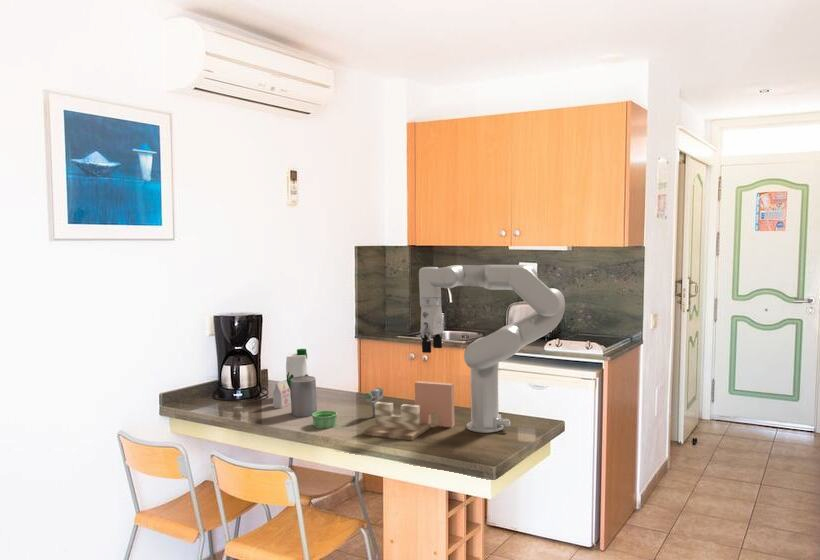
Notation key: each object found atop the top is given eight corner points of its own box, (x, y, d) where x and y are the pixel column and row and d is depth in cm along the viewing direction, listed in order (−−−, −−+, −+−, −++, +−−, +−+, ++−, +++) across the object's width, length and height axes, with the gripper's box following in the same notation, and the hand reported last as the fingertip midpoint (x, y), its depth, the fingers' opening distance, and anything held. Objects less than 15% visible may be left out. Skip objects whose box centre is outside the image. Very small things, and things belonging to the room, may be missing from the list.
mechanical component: (364, 419, 255) (363, 393, 254) (378, 413, 264) (377, 387, 263) (371, 420, 254) (370, 393, 253) (385, 413, 263) (384, 387, 262)
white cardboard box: (273, 407, 276) (272, 383, 275) (283, 403, 282) (282, 379, 281) (281, 408, 275) (280, 383, 274) (290, 404, 281) (289, 380, 280)
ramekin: (333, 429, 244) (333, 417, 244) (309, 428, 246) (308, 416, 245) (340, 422, 253) (340, 410, 253) (316, 421, 254) (316, 410, 254)
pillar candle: (298, 409, 272) (296, 372, 271) (321, 410, 269) (319, 372, 268) (287, 416, 263) (285, 377, 261) (310, 417, 260) (309, 378, 259)
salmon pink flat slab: (454, 425, 245) (453, 383, 244) (452, 427, 243) (451, 385, 241) (418, 421, 251) (417, 381, 250) (415, 423, 248) (414, 382, 247)
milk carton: (308, 398, 290) (306, 351, 289) (286, 399, 289) (284, 351, 288) (309, 393, 299) (308, 347, 297) (288, 394, 298) (286, 348, 297)
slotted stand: (430, 428, 242) (429, 401, 242) (412, 440, 229) (411, 412, 228) (384, 423, 250) (383, 397, 249) (364, 434, 236) (363, 407, 236)
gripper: (430, 304, 234) (432, 355, 236) (449, 299, 250) (451, 346, 251) (410, 304, 238) (412, 354, 239) (430, 299, 253) (432, 345, 254)
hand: (432, 350), depth 245 cm, fingers open, 9 cm apart
